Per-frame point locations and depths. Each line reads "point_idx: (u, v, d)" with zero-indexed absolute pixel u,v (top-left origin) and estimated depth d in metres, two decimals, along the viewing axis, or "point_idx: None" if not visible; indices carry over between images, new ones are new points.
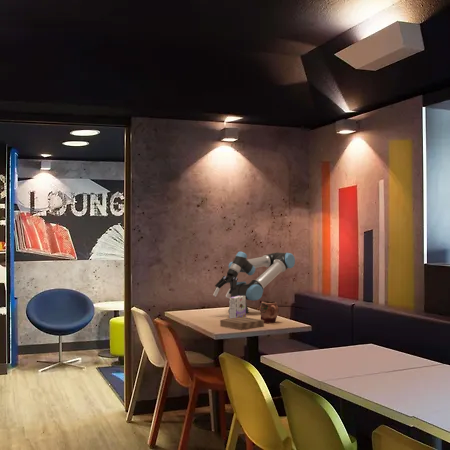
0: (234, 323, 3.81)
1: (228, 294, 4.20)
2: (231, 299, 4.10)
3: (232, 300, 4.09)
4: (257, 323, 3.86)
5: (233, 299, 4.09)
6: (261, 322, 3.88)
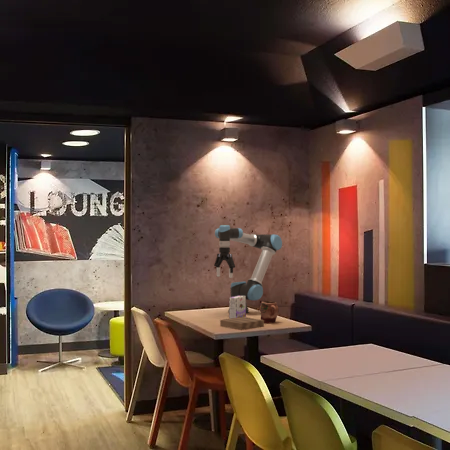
0: (234, 323, 3.81)
1: (230, 274, 4.20)
2: (231, 299, 4.10)
3: (232, 300, 4.09)
4: (257, 323, 3.86)
5: (233, 299, 4.09)
6: (261, 322, 3.88)
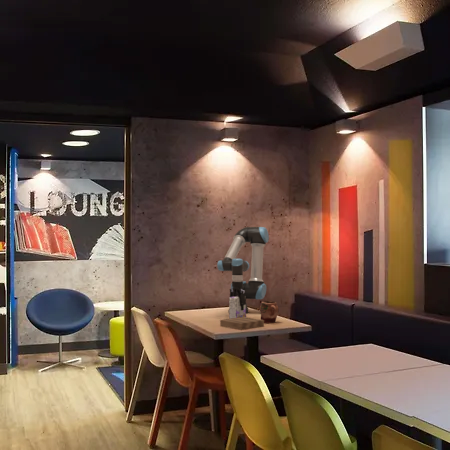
0: (234, 323, 3.81)
1: (241, 311, 4.12)
2: (231, 299, 4.10)
3: (232, 299, 4.09)
4: (257, 323, 3.86)
5: (233, 299, 4.09)
6: (261, 322, 3.88)
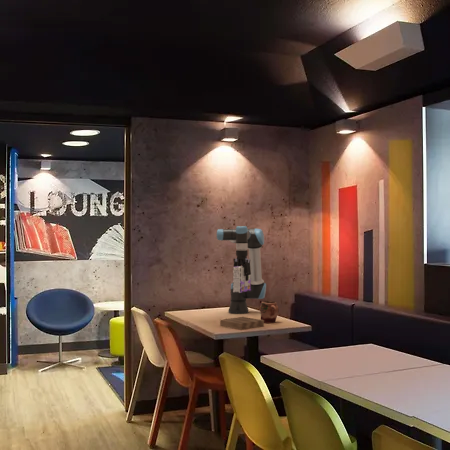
0: (234, 323, 3.81)
1: (246, 282, 3.87)
2: (235, 268, 3.85)
3: (236, 269, 3.85)
4: (257, 323, 3.86)
5: (237, 268, 3.85)
6: (261, 322, 3.88)
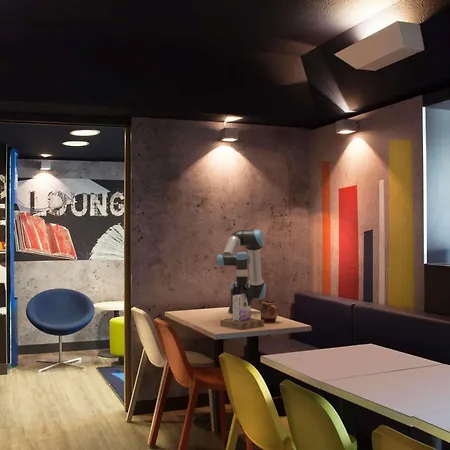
0: (234, 323, 3.81)
1: (248, 307, 3.86)
2: (234, 297, 3.86)
3: (236, 298, 3.85)
4: (257, 323, 3.86)
5: (236, 297, 3.85)
6: (261, 322, 3.88)
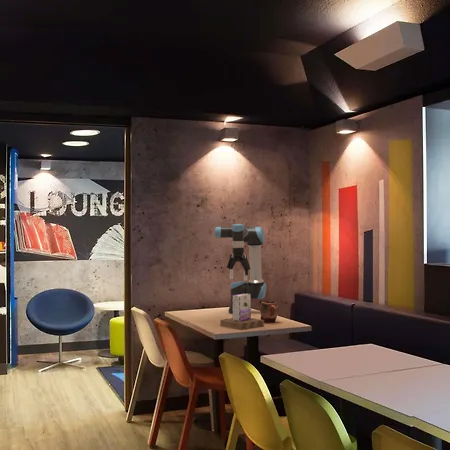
0: (234, 323, 3.81)
1: (245, 276, 3.92)
2: (234, 297, 3.86)
3: (236, 298, 3.85)
4: (257, 323, 3.86)
5: (236, 297, 3.85)
6: (261, 322, 3.88)
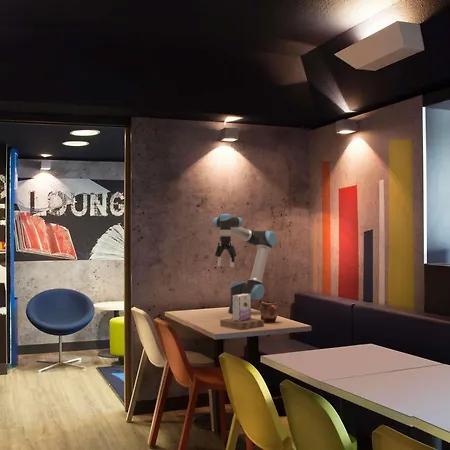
0: (234, 323, 3.81)
1: (232, 263, 4.16)
2: (234, 297, 3.86)
3: (236, 298, 3.85)
4: (257, 323, 3.86)
5: (236, 297, 3.85)
6: (261, 322, 3.88)
